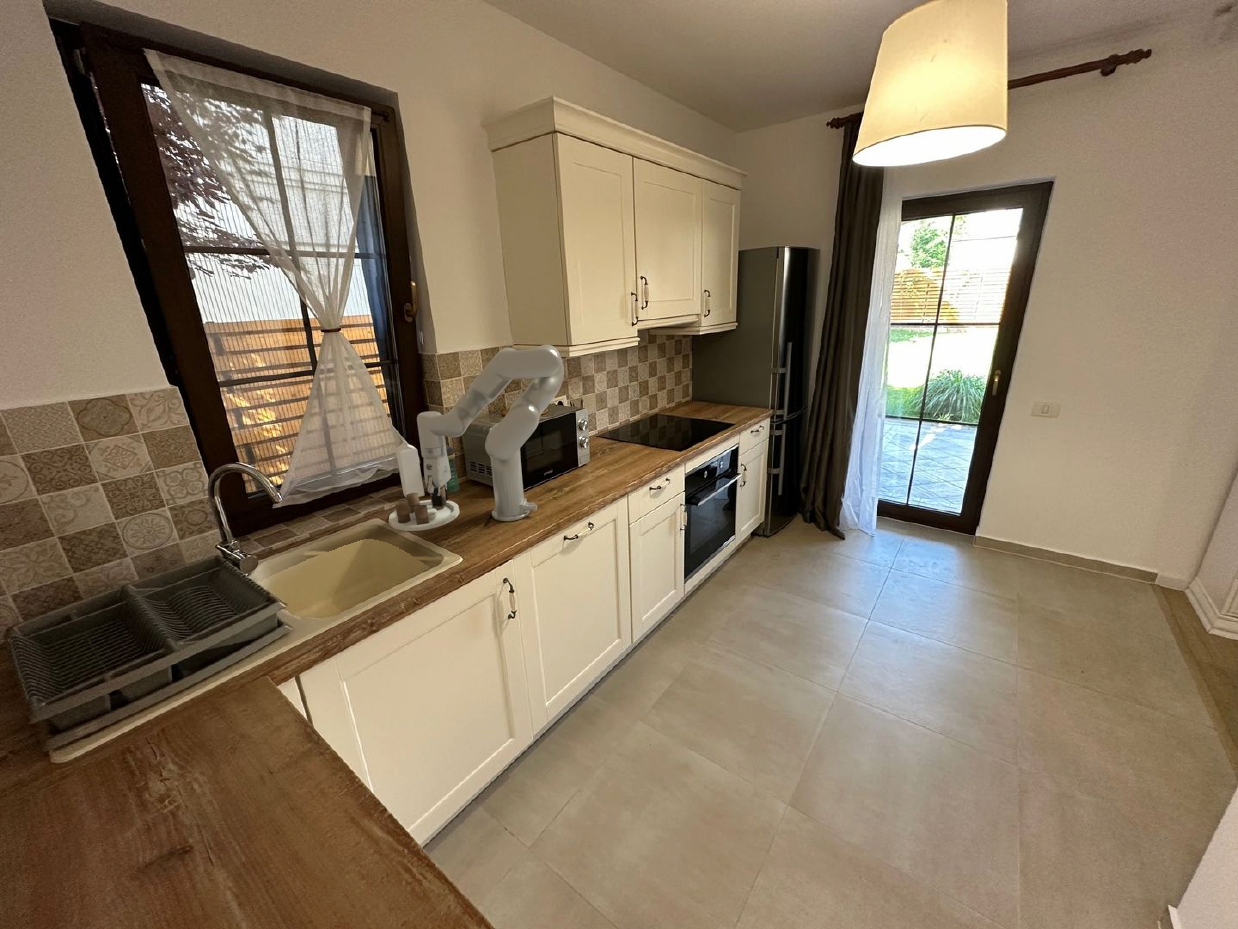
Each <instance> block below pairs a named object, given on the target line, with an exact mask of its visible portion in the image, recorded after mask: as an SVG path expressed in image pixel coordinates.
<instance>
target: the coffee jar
mask: <svg viewBox="0 0 1238 929" xmlns="http://www.w3.org/2000/svg"><path fill="white" fill-rule="evenodd" d="M446 451H447V456H448V461H449V466H450V472H451V478H450V480H449V481H448V482H447V489H446V490H447V494H451V493H455V492H458V491H459V490H460V485H459V478H458V474H457V468H456V461H455V458H456V457H455V454H456V453H455V451H454V447H452V446H450V445H448V444H446ZM433 486H435V485H433Z"/></svg>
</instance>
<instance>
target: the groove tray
mask: <svg viewBox="0 0 1238 929" xmlns="http://www.w3.org/2000/svg"><path fill="white" fill-rule="evenodd" d="M419 502H420V505H426V506H427V511H428V517H429V523H428V524H421V525H417V523H416V517H415V512H414V513H410V518H411V520H410V521H409V522H407V523H399V522H398V518H397V512H396V509H395V510H394V511H393V512H392V513H390V514H389V518H388V524H389V526H391V528H393V529H395V530H398V531H405V532H418V531H426V530H431V529H435V528H438V527H441V526H444V525H446V524H448V523H450V522H452V521H454V520H455V519H456V518H458V516H459V514H460V508H459V504H457V503H456V502H454V501H451V500H448V501H446V503H447V504H446V505H444V508H443V509H442V510H436V509H434V508H432V502H431V499H427V500H425V499H424V500H419Z"/></svg>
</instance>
